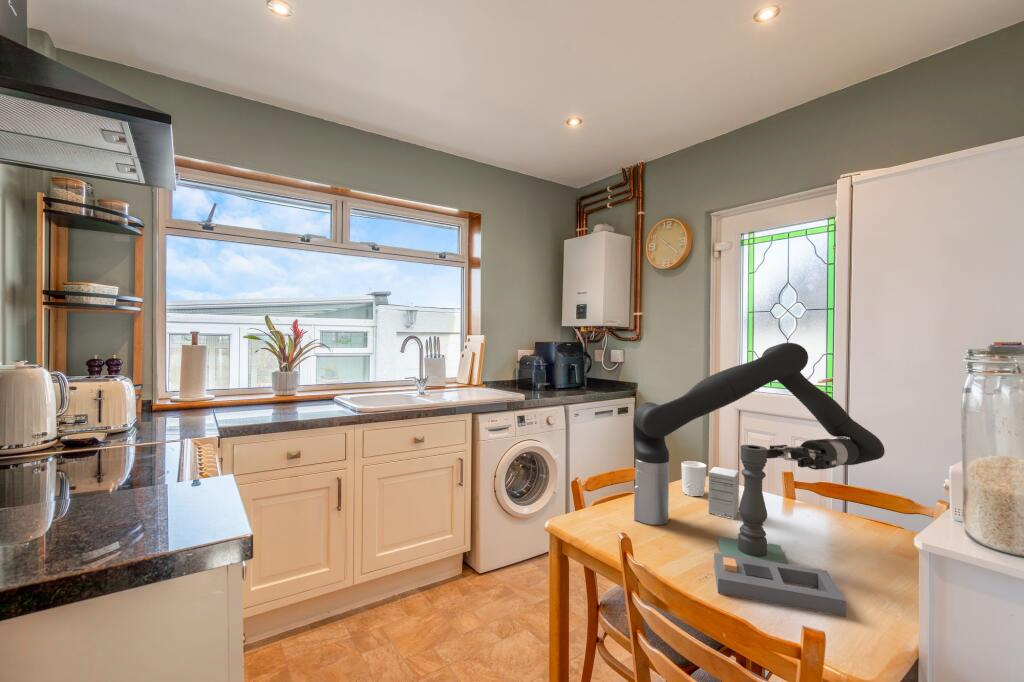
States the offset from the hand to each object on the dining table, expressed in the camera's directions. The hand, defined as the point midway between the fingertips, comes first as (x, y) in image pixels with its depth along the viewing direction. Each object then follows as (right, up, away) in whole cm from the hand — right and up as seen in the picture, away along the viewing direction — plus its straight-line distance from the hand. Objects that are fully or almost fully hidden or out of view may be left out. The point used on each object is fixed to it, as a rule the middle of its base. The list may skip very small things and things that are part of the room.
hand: (782, 458), depth 114 cm
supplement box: (-4, -22, +23) cm, 32 cm away
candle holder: (-10, -21, -4) cm, 24 cm away
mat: (-10, -22, -4) cm, 25 cm away
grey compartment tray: (-13, -22, -19) cm, 32 cm away
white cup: (-7, -22, +39) cm, 46 cm away
